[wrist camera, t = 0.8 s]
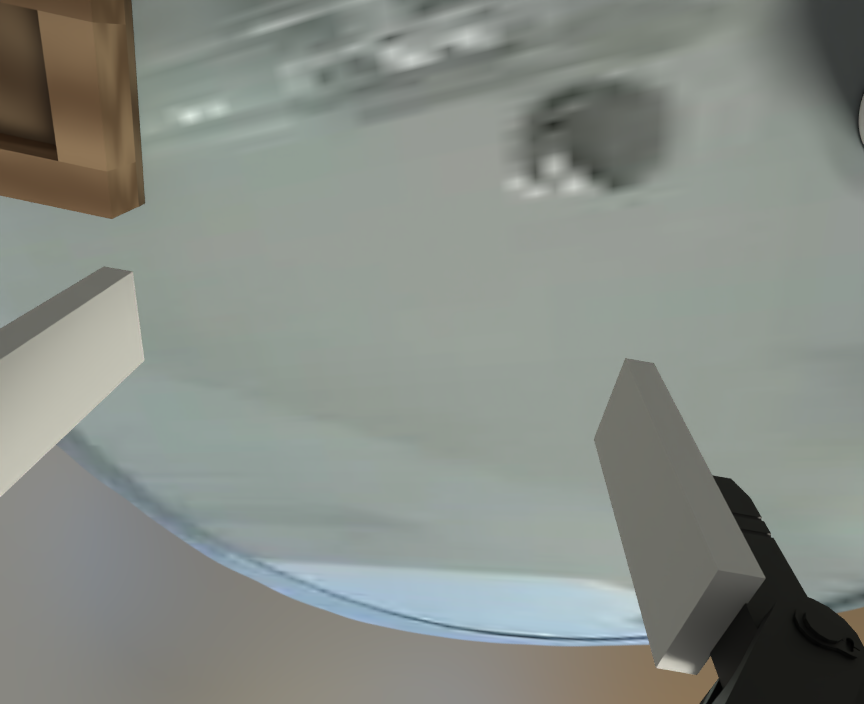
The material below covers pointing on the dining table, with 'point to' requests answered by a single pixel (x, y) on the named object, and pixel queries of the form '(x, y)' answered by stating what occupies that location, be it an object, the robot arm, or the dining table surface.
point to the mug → (861, 120)
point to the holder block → (70, 105)
